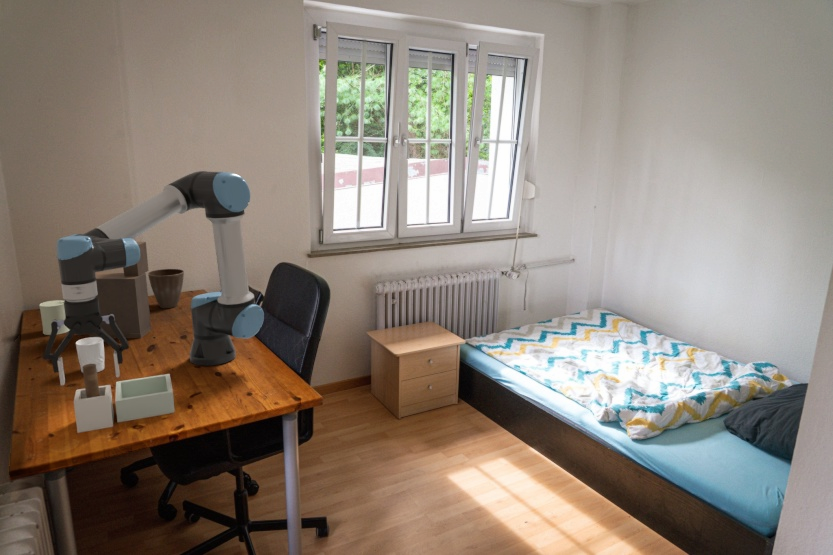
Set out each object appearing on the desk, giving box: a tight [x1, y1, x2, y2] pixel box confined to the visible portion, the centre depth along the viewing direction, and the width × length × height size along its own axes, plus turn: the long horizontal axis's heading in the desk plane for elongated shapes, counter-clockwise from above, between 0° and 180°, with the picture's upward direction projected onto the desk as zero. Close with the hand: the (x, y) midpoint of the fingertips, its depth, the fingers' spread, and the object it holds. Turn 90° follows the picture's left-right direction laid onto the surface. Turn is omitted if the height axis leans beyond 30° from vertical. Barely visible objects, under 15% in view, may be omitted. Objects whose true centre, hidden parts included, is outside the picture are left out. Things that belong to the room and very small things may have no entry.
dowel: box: [82, 364, 100, 398], centre depth 148 cm, size 3×3×16 cm
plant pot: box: [147, 268, 185, 309], centre depth 259 cm, size 15×15×16 cm
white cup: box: [75, 336, 106, 373], centre depth 186 cm, size 8×8×10 cm
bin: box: [114, 373, 175, 423], centre depth 159 cm, size 14×14×7 cm
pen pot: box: [73, 384, 115, 434], centre depth 149 cm, size 8×8×10 cm
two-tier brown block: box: [88, 241, 152, 339], centre depth 221 cm, size 19×14×35 cm
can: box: [38, 299, 69, 336], centre depth 223 cm, size 9×9×12 cm
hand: (90, 379), depth 147 cm, fingers open, 12 cm apart
